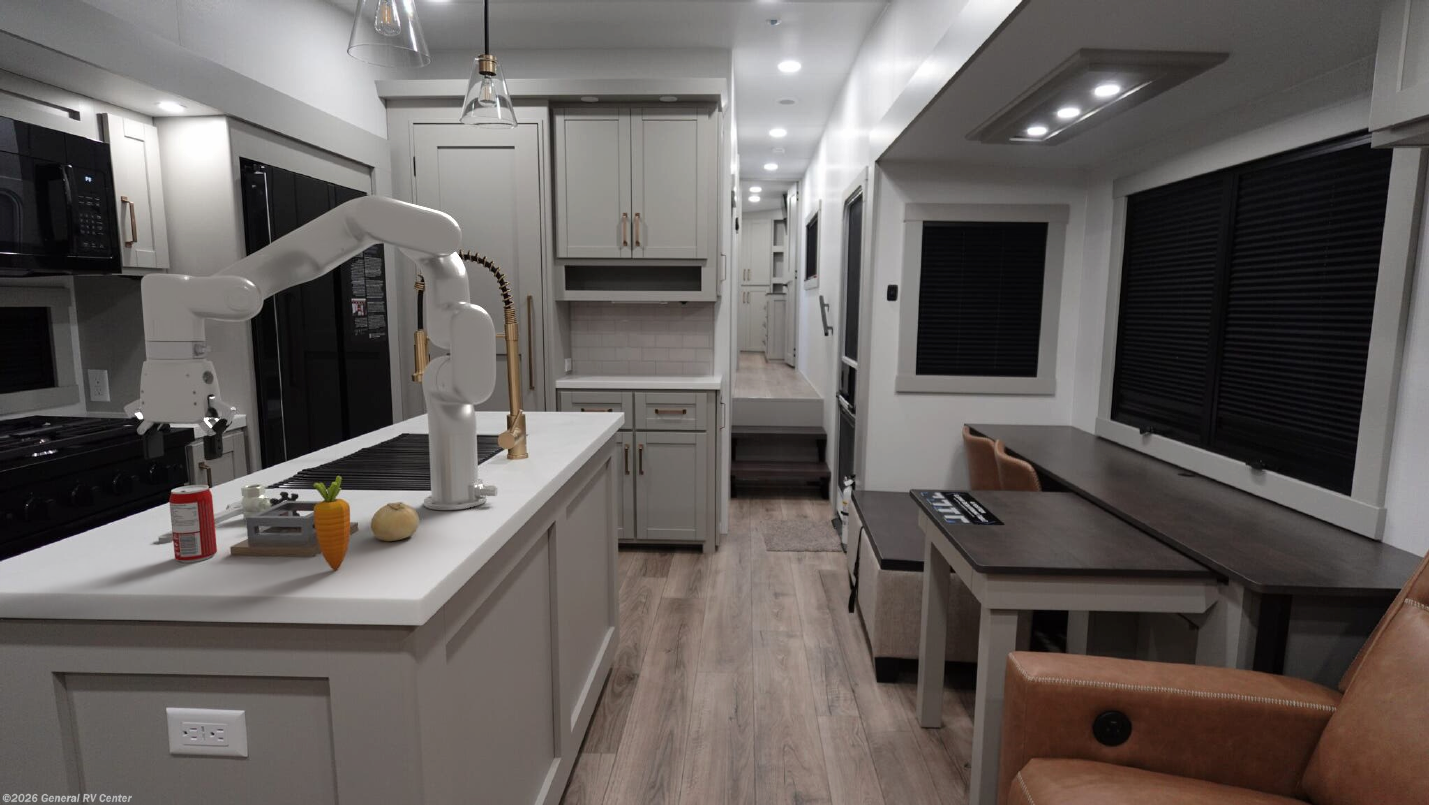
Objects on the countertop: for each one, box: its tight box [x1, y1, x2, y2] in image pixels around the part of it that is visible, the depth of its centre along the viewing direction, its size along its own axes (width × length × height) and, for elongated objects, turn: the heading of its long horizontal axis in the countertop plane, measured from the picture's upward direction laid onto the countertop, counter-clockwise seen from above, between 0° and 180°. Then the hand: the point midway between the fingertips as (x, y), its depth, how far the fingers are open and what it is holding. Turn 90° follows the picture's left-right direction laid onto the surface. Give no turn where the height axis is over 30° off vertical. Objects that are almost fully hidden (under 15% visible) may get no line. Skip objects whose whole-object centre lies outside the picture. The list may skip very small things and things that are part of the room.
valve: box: [241, 483, 301, 521], centre depth 132 cm, size 7×7×12 cm
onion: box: [370, 501, 420, 542], centre depth 123 cm, size 8×8×7 cm
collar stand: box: [229, 500, 359, 557], centre depth 120 cm, size 14×14×6 cm
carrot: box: [312, 475, 351, 571], centre depth 106 cm, size 5×5×15 cm
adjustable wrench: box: [157, 500, 245, 544], centre depth 132 cm, size 25×6×2 cm, turn 174°
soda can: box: [168, 484, 218, 563], centre depth 112 cm, size 6×6×12 cm
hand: (184, 458), depth 110 cm, fingers open, 9 cm apart
